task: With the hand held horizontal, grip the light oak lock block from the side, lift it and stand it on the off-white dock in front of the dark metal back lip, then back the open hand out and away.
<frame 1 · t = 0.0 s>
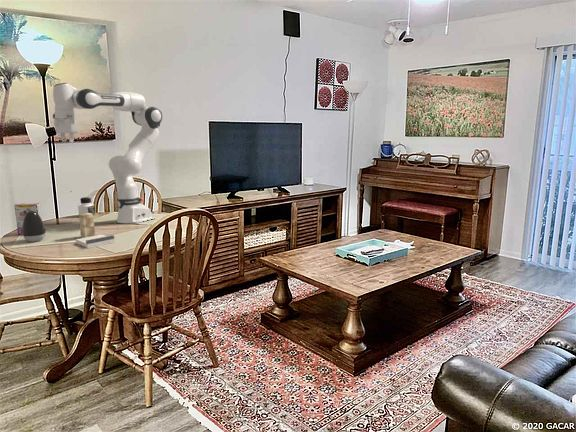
hand: (67, 142, 228), 48 cm above the table, tool pointing down, fingers open, 8 cm apart
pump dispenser: (34, 240, 217), on the table
dock: (95, 243, 211), on the table
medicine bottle: (87, 216, 276), on the table
oak lock block: (88, 236, 223), on the table
candy bar box: (31, 233, 231), on the table
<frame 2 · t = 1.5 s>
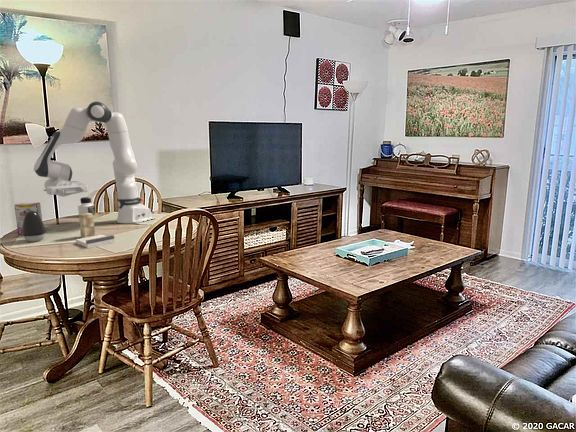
hand: (73, 191, 227), 23 cm above the table, tool horizontal, fingers open, 8 cm apart
nothing on the table moved.
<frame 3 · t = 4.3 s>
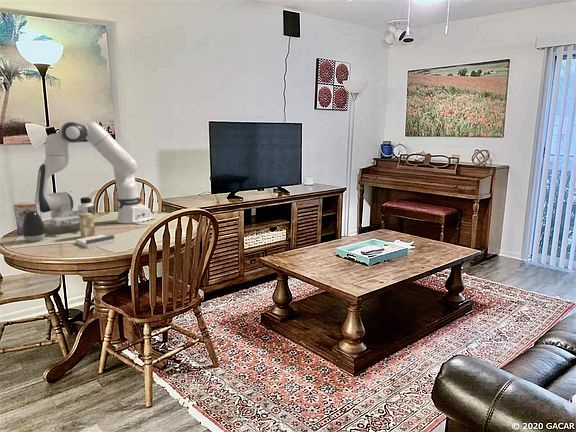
hand: (78, 221, 229), 6 cm above the table, tool horizontal, fingers open, 8 cm apart
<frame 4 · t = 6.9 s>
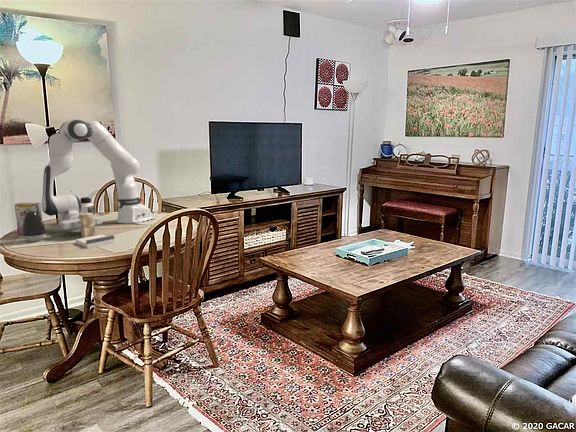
hand: (87, 224, 222), 7 cm above the table, tool horizontal, fingers closed on oak lock block, 5 cm apart
oak lock block: (88, 236, 223), on the table, touching gripper
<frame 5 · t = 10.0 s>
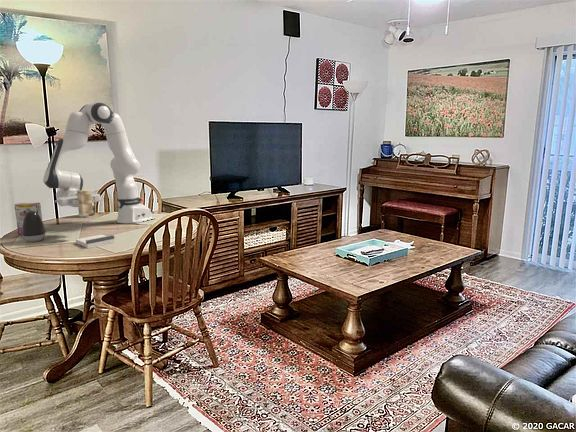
hand: (85, 201, 217), 19 cm above the table, tool horizontal, fingers closed on oak lock block, 5 cm apart
oak lock block: (86, 214, 219), point 12 cm above the table, touching gripper
everything else where it was.
when the fingers open (9 cm above the table, at t = 13.3 s): oak lock block stays where it is, resting on dock.
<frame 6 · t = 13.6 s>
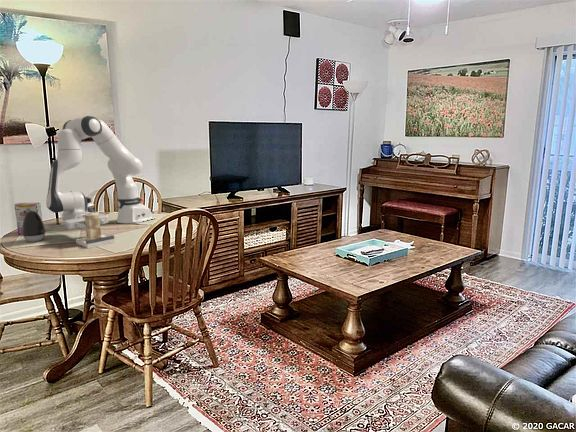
hand: (93, 224, 210), 9 cm above the table, tool horizontal, fingers open, 8 cm apart
oak lock block: (94, 238, 212), point 2 cm above the table, touching dock
everything else where it was.
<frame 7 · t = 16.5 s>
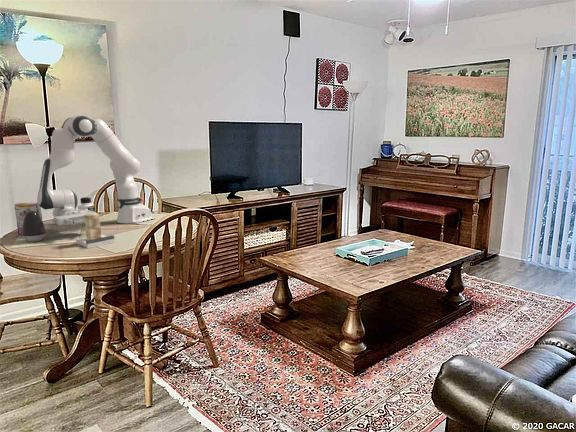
hand: (82, 220, 218), 9 cm above the table, tool horizontal, fingers open, 8 cm apart
nothing on the table moved.
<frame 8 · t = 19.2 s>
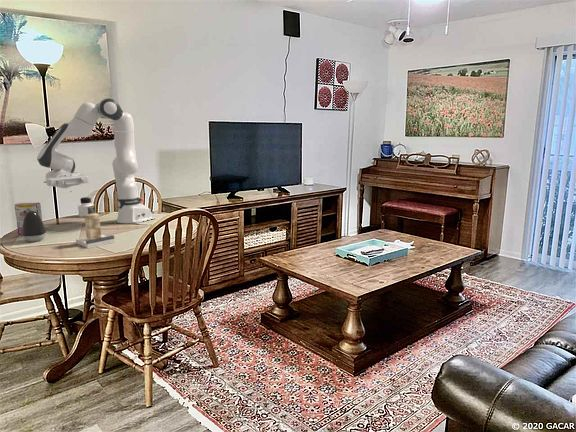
hand: (73, 182, 222), 28 cm above the table, tool horizontal, fingers open, 8 cm apart
nothing on the table moved.
at the end: oak lock block inside the target area on the dock (0.4 cm from its centre), point 2.0 cm above the dock's base; oak lock block tilted 0°; the gripper is holding nothing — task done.
